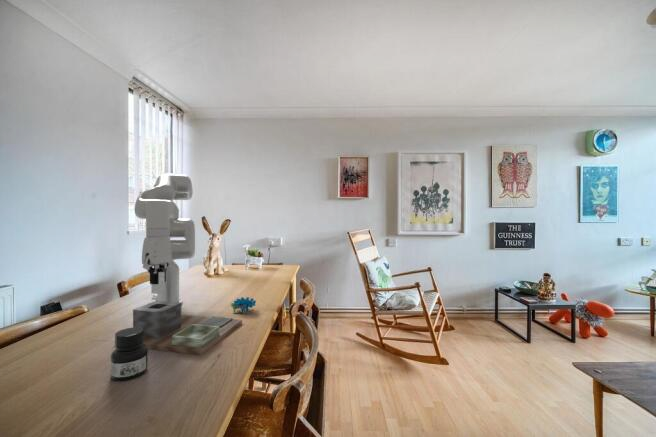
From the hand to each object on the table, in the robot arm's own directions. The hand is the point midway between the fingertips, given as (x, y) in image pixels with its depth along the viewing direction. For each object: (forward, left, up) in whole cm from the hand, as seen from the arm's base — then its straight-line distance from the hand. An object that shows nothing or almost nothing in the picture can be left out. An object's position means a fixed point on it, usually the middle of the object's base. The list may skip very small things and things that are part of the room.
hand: (157, 282), depth 112 cm
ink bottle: (+11, -24, -20) cm, 33 cm away
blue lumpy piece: (+18, +32, -20) cm, 42 cm away
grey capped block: (0, 0, -4) cm, 4 cm away
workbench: (+8, +4, -20) cm, 22 cm away
